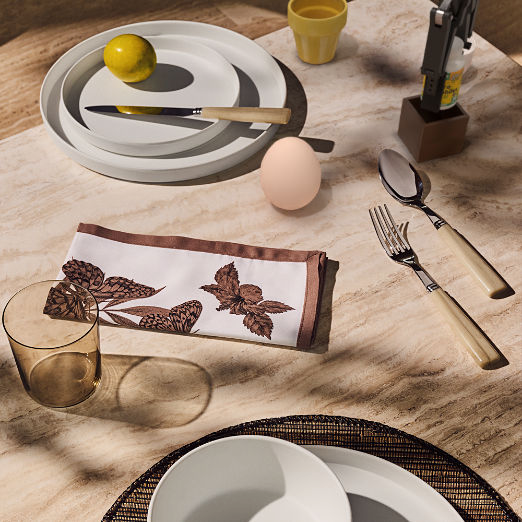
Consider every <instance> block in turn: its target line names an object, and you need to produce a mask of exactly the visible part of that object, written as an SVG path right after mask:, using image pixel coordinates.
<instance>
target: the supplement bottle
mask: <svg viewBox="0 0 522 522" xmlns="http://www.w3.org/2000/svg"><path fill="white" fill-rule="evenodd" d="M463 46H464V42H463V41H462V39H460V38H459V37H456V36H455V38H454V41H453V45H452V48H451V52H450V55H449V59H448V63H447V66H446V70H445V72H447V77H446V82H445V86H444V91H443V96H442V101H441V106H440V110H444V109H448V108H450V107H452V106H453V105H455V104H456V102H458V99H459V93H460V88H461V84H462V81H463V76H464V74H463V71H464V66H465V58H464V56H463V54H462V52H463ZM425 78H426V76H425V75H423V80H422V86H421V91H420V94H421V100H422V95H423V89H424V84H425Z"/></svg>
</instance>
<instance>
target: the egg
mask: <svg viewBox="0 0 522 522" xmlns="http://www.w3.org/2000/svg"><path fill="white" fill-rule="evenodd" d="M259 168H260V169H259V183H260V186H261V187H260V188H261V190H262V192H263V194H264V196H265V197H266V199H267V200H268V201H269V202H270V203H271V204H273V205H274V206H275V207H277V208H280V209H282V210H287V211H293V210H295V211H296V210H299V209H301V208H304V207H305V206H307V205H308V204H310V203H311V202H312V201H313V200H314V198H316V196H317V194H318V192H319V191H320V190H319V189H320V187H321V183H322V168H321V163H320V160H319V157H318V155H317V154H316V152H315V150H314V149H313V147H312V146H311V145H310V144H309V143H308V142H307V141H305V140H304V139H301V138H299V137H296V136H285V137H282V138H280V139H278V140H276V141H275V142H274V143H273V144H271V146H270V147H269V148H268V150H267V151H266V153H265V154H264V156H263V158H262V160H261V163H260V167H259Z"/></svg>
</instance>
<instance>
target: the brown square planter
mask: <svg viewBox="0 0 522 522" xmlns="http://www.w3.org/2000/svg"><path fill="white" fill-rule="evenodd" d="M421 101H422V100H421V93H420V94H415V95H411V96H407V97H402V101H401V108H400V115H399V121H398V127H397V136H398V137H399V139H400V140H401V142H402V143H403V144H404V146H405V147H406V148H407V150H408V152H409V153H410V155H411V157H412V158H413V159H414V160H415V162H416V163H417V164H420V163H423V162H427V161H432V160H436V159H441V158H444V157H449V156H453V155H456V154H457V155H458V154H461V153H462V149H463V145H464V142H465V137H466V133H467V130H468V125H469V121H470V118H471V116H470V115H469V114H468V112H467V111H466V110H465V108H463V106H462V105H461V104H460V103H459V101H457V102H456V104H455V105H453V106H452V107H450V108H448V109H444V110H440V111H439V112H438V113H435V112H432V111H429V110H426V109H423V108H420V106H421Z"/></svg>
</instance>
